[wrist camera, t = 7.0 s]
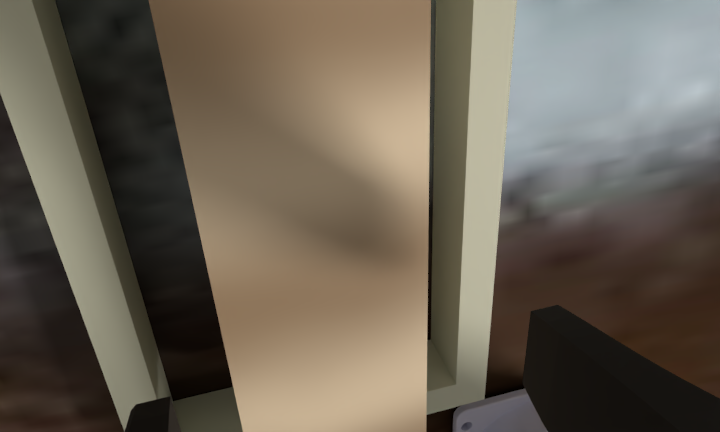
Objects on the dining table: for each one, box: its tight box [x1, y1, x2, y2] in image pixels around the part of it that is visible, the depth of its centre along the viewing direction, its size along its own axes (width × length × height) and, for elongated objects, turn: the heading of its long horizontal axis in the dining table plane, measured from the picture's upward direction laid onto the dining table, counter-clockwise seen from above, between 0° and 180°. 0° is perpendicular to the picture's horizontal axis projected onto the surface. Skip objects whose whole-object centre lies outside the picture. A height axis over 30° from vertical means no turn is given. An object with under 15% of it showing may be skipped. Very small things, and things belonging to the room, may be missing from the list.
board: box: [149, 0, 431, 432], centre depth 16 cm, size 14×5×4 cm, turn 3°
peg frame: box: [0, 0, 517, 432], centre depth 18 cm, size 18×12×2 cm
